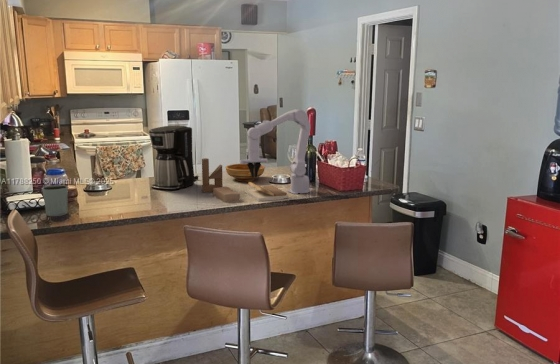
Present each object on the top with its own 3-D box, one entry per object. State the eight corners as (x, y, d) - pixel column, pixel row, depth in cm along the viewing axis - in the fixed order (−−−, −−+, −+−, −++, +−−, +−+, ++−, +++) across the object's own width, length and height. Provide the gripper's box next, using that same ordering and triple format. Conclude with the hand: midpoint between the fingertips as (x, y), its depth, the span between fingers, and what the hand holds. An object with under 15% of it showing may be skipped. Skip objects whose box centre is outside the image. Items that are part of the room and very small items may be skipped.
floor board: (273, 190, 252) (273, 185, 251) (287, 198, 234) (288, 193, 233) (245, 192, 246) (245, 187, 245) (258, 201, 228) (258, 195, 227)
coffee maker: (146, 190, 250) (142, 128, 243) (164, 179, 281) (161, 123, 274) (187, 191, 248) (185, 129, 241) (201, 179, 280) (199, 124, 273)
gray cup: (39, 216, 200) (36, 189, 197) (54, 210, 210) (51, 184, 207) (60, 217, 198) (58, 190, 196) (74, 211, 208) (72, 185, 206)
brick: (240, 201, 229) (240, 192, 228) (225, 203, 225) (224, 194, 224) (227, 194, 243) (227, 186, 242) (212, 196, 239) (212, 187, 238)
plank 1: (260, 188, 248) (261, 186, 248) (266, 192, 240) (267, 190, 240) (248, 183, 244) (249, 181, 244) (253, 186, 236) (254, 184, 236)
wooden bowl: (218, 177, 288) (218, 164, 287) (253, 173, 299) (253, 161, 297) (235, 186, 262) (235, 172, 261) (273, 182, 273) (274, 169, 272)
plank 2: (267, 192, 239) (268, 190, 239) (273, 195, 231) (274, 193, 231) (254, 187, 236) (254, 184, 236) (260, 190, 228) (260, 188, 228)
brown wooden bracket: (222, 191, 249) (222, 158, 246) (203, 192, 245) (202, 159, 241) (220, 189, 253) (220, 157, 249) (201, 191, 248) (200, 158, 245)
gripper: (264, 149, 244) (264, 174, 246) (238, 150, 238) (238, 176, 241) (269, 151, 237) (269, 176, 240) (242, 152, 232) (242, 178, 235)
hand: (254, 176), depth 240 cm, fingers closed
